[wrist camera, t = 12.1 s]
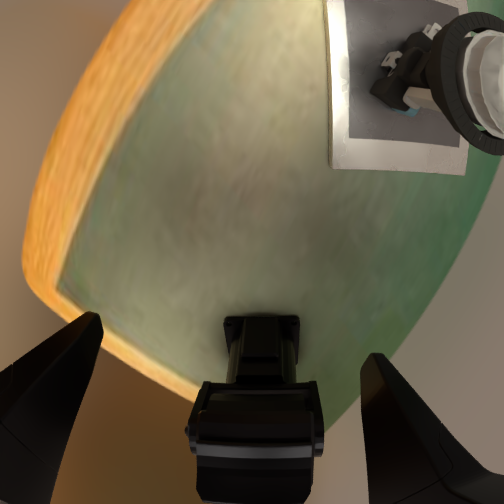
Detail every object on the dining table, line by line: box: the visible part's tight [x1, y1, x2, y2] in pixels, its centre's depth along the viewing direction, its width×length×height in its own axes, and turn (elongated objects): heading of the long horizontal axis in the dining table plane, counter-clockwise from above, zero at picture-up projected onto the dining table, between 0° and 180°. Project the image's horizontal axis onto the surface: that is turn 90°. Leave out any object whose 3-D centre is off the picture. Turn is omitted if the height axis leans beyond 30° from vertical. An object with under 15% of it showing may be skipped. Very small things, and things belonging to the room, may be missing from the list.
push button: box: [370, 12, 504, 156], centre depth 10 cm, size 7×5×10 cm
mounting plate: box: [323, 0, 471, 176], centre depth 14 cm, size 14×10×1 cm
